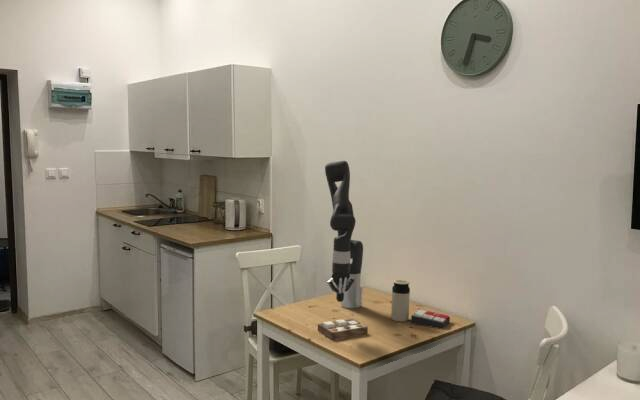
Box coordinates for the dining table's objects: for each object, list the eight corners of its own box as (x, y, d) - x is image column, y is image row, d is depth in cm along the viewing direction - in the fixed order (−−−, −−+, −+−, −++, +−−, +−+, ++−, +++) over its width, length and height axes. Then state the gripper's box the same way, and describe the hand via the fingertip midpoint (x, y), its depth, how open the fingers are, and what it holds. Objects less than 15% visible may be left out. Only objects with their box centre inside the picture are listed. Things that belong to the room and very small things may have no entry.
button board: (352, 325, 238) (352, 318, 237) (367, 333, 227) (367, 326, 227) (317, 330, 229) (317, 323, 229) (331, 340, 219) (331, 332, 218)
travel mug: (408, 322, 243) (409, 284, 242) (390, 321, 245) (392, 282, 243) (408, 317, 251) (410, 279, 249) (391, 316, 253) (393, 278, 251)
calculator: (443, 321, 236) (411, 314, 243) (442, 331, 236) (410, 323, 243) (450, 315, 246) (418, 308, 253) (449, 324, 246) (418, 316, 253)
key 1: (330, 326, 229) (330, 321, 229) (334, 329, 226) (334, 323, 226) (322, 328, 227) (323, 322, 227) (327, 330, 224) (327, 324, 224)
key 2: (353, 326, 235) (354, 320, 235) (358, 328, 232) (358, 322, 231) (346, 327, 233) (347, 321, 233) (351, 329, 230) (351, 324, 230)
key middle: (342, 324, 232) (342, 319, 232) (346, 327, 229) (346, 321, 228) (335, 326, 230) (335, 320, 230) (339, 328, 227) (339, 322, 227)
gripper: (349, 258, 232) (348, 297, 234) (323, 260, 226) (322, 300, 227) (359, 261, 226) (357, 301, 227) (332, 263, 219) (331, 305, 221)
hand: (339, 301), depth 227 cm, fingers closed
